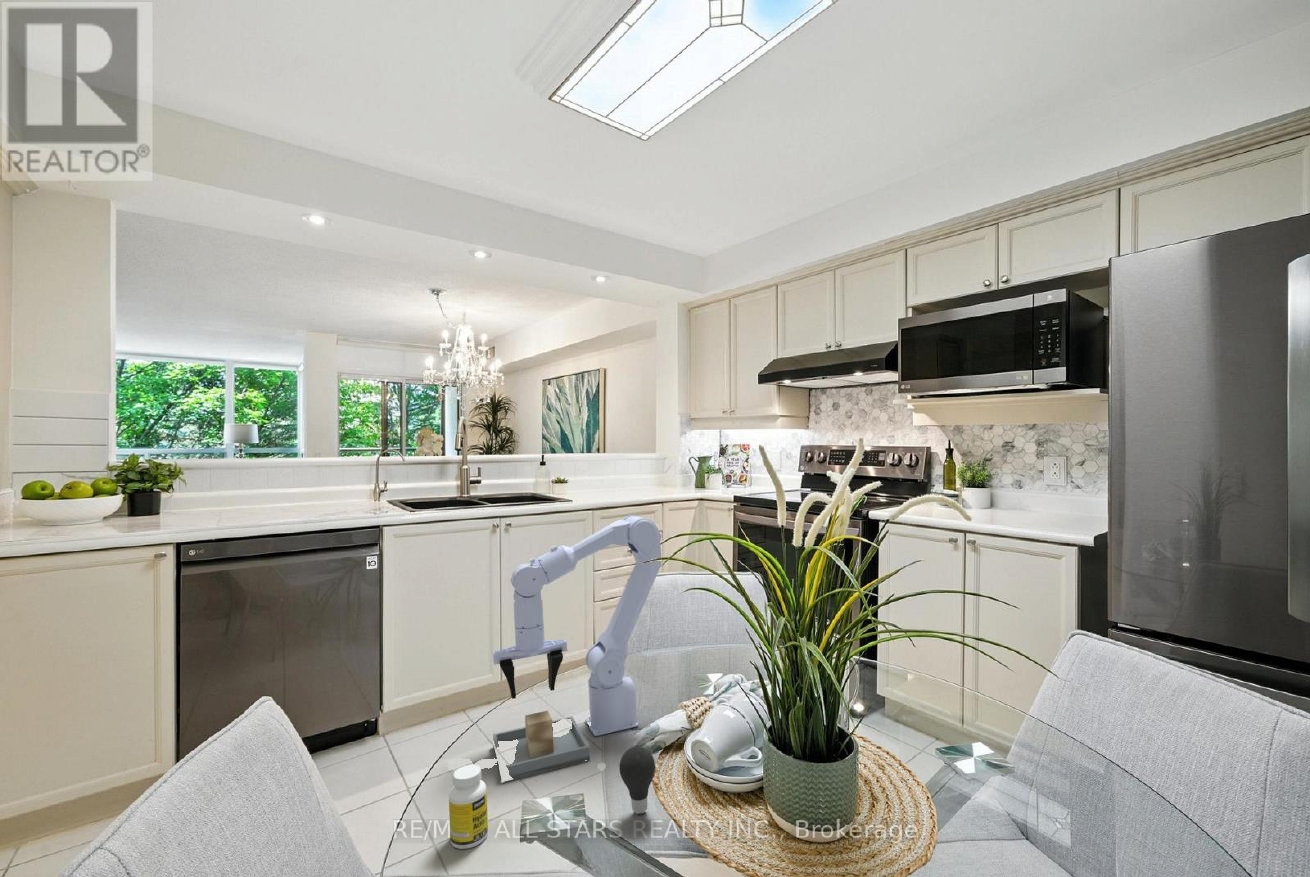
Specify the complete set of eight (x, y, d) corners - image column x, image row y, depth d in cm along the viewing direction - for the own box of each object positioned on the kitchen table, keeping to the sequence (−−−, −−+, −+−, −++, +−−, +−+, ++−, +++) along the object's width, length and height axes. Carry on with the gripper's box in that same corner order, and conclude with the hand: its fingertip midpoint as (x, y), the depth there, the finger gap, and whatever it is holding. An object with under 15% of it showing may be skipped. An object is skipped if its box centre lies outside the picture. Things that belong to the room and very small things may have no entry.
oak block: (549, 741, 112) (547, 710, 112) (553, 751, 108) (552, 719, 108) (526, 747, 110) (525, 715, 110) (530, 757, 106) (528, 725, 106)
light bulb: (654, 799, 92) (651, 737, 92) (660, 821, 87) (656, 754, 87) (620, 805, 91) (616, 742, 91) (624, 827, 86) (620, 760, 86)
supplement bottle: (477, 852, 82) (473, 783, 82) (443, 849, 83) (440, 781, 84) (495, 827, 87) (491, 762, 88) (462, 825, 88) (459, 761, 89)
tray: (572, 728, 118) (572, 716, 119) (590, 760, 105) (589, 746, 106) (493, 746, 113) (492, 734, 113) (501, 783, 100) (500, 768, 100)
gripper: (494, 636, 109) (498, 708, 108) (569, 623, 114) (572, 692, 114) (490, 626, 115) (493, 694, 115) (561, 615, 121) (564, 680, 120)
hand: (532, 692), depth 115 cm, fingers open, 7 cm apart
